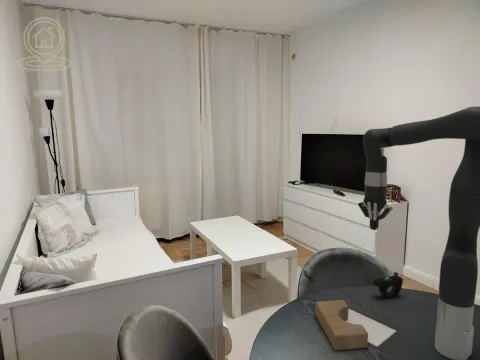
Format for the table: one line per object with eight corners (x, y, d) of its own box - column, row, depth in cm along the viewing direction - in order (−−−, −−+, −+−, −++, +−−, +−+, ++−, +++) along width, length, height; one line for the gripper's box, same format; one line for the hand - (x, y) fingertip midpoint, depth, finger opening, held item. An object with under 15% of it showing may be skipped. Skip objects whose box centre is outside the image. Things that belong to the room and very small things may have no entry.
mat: (396, 331, 117) (396, 330, 117) (377, 347, 110) (377, 346, 110) (347, 308, 132) (347, 307, 132) (327, 321, 125) (327, 320, 125)
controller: (404, 297, 140) (405, 274, 138) (377, 301, 137) (378, 278, 136) (397, 292, 144) (398, 270, 142) (371, 296, 142) (372, 273, 140)
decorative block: (344, 299, 128) (369, 333, 108) (343, 312, 129) (367, 348, 109) (315, 300, 127) (335, 335, 107) (314, 314, 128) (334, 351, 108)
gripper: (398, 184, 122) (396, 231, 125) (364, 180, 132) (363, 223, 135) (388, 187, 117) (385, 235, 120) (353, 182, 127) (352, 227, 130)
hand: (373, 229), depth 127 cm, fingers closed
